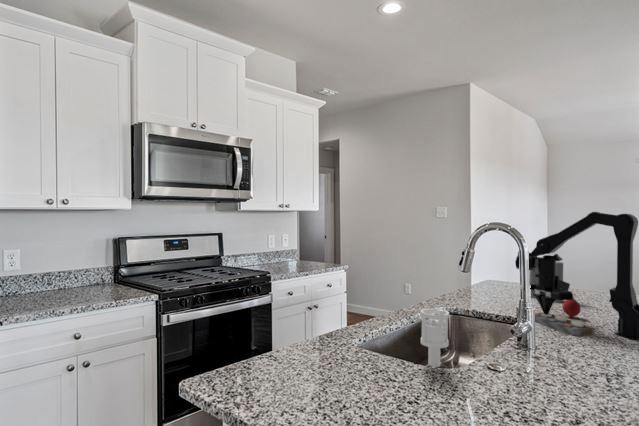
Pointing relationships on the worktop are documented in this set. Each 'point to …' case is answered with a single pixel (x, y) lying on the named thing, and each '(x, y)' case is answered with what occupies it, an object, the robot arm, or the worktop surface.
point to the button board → (563, 325)
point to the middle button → (561, 318)
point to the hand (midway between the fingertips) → (546, 314)
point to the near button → (577, 323)
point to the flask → (535, 279)
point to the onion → (571, 307)
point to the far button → (546, 315)
